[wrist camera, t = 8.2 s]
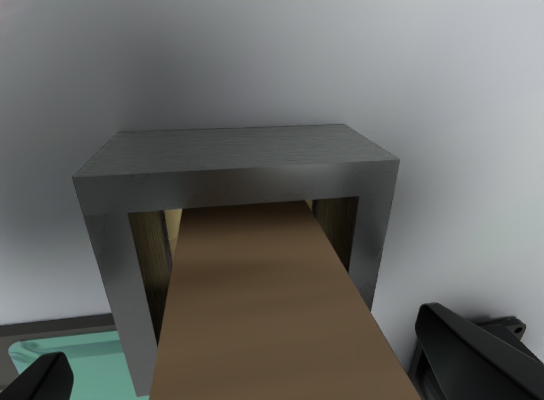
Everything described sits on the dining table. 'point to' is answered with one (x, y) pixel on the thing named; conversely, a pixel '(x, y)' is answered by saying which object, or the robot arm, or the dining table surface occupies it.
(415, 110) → the dining table surface
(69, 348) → the smartphone
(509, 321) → the robot arm
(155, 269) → the gray open box
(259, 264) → the rail post
